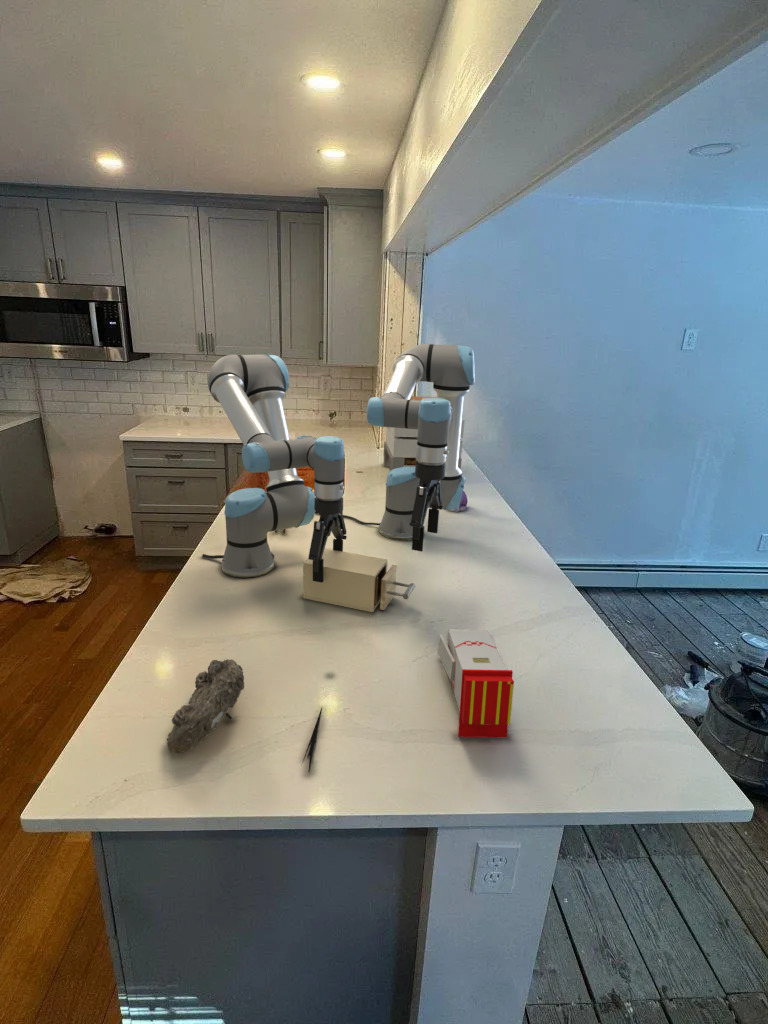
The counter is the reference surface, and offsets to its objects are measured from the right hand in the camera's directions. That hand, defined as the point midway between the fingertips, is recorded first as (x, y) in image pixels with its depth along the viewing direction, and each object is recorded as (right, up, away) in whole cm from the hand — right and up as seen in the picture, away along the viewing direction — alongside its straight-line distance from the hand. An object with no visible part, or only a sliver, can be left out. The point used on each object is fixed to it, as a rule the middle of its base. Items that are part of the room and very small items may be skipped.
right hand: (424, 541), depth 148 cm
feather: (-23, -32, -39) cm, 56 cm away
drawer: (-15, -15, +6) cm, 22 cm away
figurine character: (-47, +2, +53) cm, 70 cm away
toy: (+7, -30, -29) cm, 43 cm away
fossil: (-43, -32, -40) cm, 67 cm away
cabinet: (-21, -15, +8) cm, 27 cm away
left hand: (-26, -8, +7) cm, 28 cm away
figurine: (+19, +9, +80) cm, 83 cm away
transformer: (+7, +26, +127) cm, 130 cm away
